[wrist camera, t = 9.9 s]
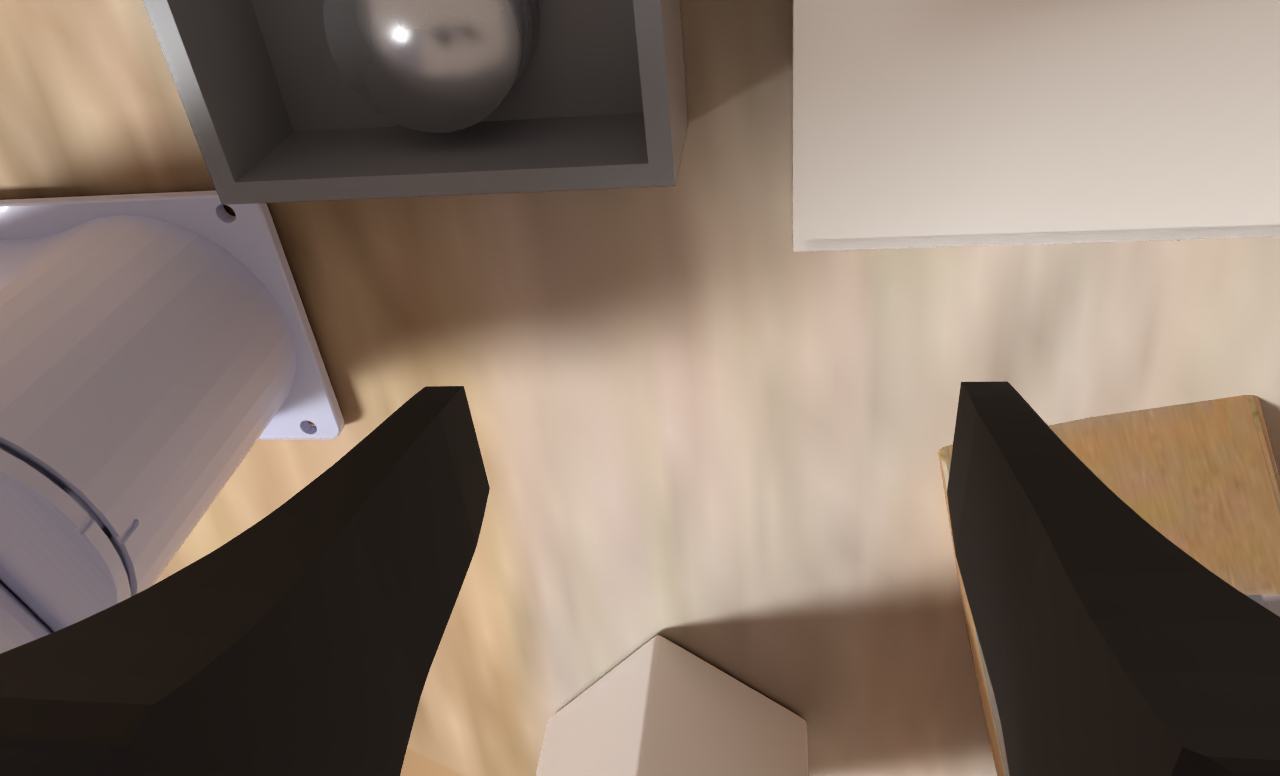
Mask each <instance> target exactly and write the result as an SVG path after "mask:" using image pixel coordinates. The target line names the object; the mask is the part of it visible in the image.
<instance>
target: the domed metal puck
mask: <svg viewBox="0 0 1280 776" xmlns="http://www.w3.org/2000/svg"><path fill="white" fill-rule="evenodd" d="M323 17H324V27H325V33H326V38H327V41H328V45H329V48H330V51H331V54H332V56H333V58H334V61H335V63H336V65H337V67H338V69H339V70H340V72H341V74H342V75H343V77H344V78H345V80H346V81H347V83H348V84H349V86H350V87H351V88H352V89H353V90H354V92H355V93H356V94H357V95H358V96H359V97H360V98H361V99H362V100H363V101H364V102H365V103H366V104H367V105H368V106H370V107H371V108H372V109H374V110H375V111H376V112H377V113H379V114H381V115H382V116H384V117H385V118H387V119H389V120H391V121H393V122H395V123H397V124H399V125H401V126H404V127H407V128H410V129H413V130H418V131H423V132H432V133H444V132H453V131H458V130H462V129H464V128H467V127H470V126H472V125H474V124H476V123H478V122H480V121H482V120H483V119H484V118H486V117H487V116H488V115H490V114H491V113H492V112H493V111H494V110H495V109H496V108H497V107H498V106H499V104H500V103H501V102H502V100H503V99H504V98H505V96H506V95H507V93H508V92H509V91H510V89H511V88H512V86H513V85H514V84H515V82H516V81H517V80H518V78H519V77H520V75H521V74H522V73H523V71H524V70H525V68H526V67H527V65H528V63H529V61H530V59H531V58H532V55H533V52H534V50H535V47H536V43H537V39H538V33H539V7H538V0H324V5H323Z"/></svg>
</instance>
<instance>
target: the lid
mask: <svg viewBox="0 0 1280 776" xmlns="http://www.w3.org/2000/svg"><path fill="white" fill-rule="evenodd" d="M792 227H793V252H797V251H830V250H863V249H896V248H930V247H963V246H996V245H1029V244H1062V243H1095V242H1128V241H1161V240H1194V239H1228V238H1261V237H1280V0H793V106H792Z"/></svg>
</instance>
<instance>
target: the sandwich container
mask: <svg viewBox="0 0 1280 776" xmlns="http://www.w3.org/2000/svg"><path fill="white" fill-rule="evenodd" d="M1049 427H1050V429H1051V430H1052V431H1053V432H1054V433H1055V434H1056V435H1057V436H1058V437H1059V438H1060V439H1061V440H1062V441H1063V443H1064V444H1065V445H1066V446H1067V447H1068V448H1069V449H1070V450H1071V451H1072V452H1073V453H1074V454H1075V455H1076V456H1077V457H1078V458H1079V459H1080V460H1081V461H1082V462H1083V463H1084V464H1085V465H1086V466H1087V467H1088V468H1089V469H1090V470H1091V471H1092V472H1093V473H1094V474H1095V475H1096V476H1097V477H1098V478H1099V479H1100V480H1101V481H1102V482H1103V483H1104V484H1105V485H1106V486H1107V487H1108V488H1109V489H1110V490H1111V491H1113V492H1114V493H1115V494H1116V495H1117V496H1118V497H1119V498H1120V499H1121V500H1122V501H1123V502H1125V503H1126V504H1127V505H1128V506H1129V507H1130V508H1131V509H1133V510H1134V511H1135V512H1136V513H1137V514H1138V515H1139V516H1141V517H1142V518H1143V519H1144V520H1145V521H1146V522H1147V523H1149V524H1150V525H1151V526H1152V527H1153V528H1155V529H1156V530H1157V531H1158V532H1160V533H1161V534H1162V535H1163V536H1165V537H1166V538H1167V539H1168V540H1170V541H1171V542H1172V543H1174V544H1175V545H1176V546H1178V547H1179V548H1180V549H1182V550H1183V551H1184V552H1186V553H1187V554H1188V555H1190V556H1191V557H1192V558H1194V559H1195V560H1196V561H1198V562H1199V563H1200V564H1202V565H1203V566H1204V567H1206V568H1207V569H1208V570H1210V571H1211V572H1212V573H1214V574H1215V575H1217V576H1218V577H1220V578H1221V579H1222V580H1224V581H1225V582H1227V583H1228V584H1230V585H1231V586H1233V587H1234V588H1236V589H1237V590H1238V591H1240V592H1242V593H1243V594H1245V595H1246V596H1248V597H1249V598H1251V599H1253V600H1254V601H1256V602H1257V603H1259V604H1260V605H1262V606H1263V607H1265V608H1267V609H1268V610H1270V611H1271V612H1273V613H1274V614H1276V615H1278V616H1279V617H1280V477H1279V473H1278V470H1277V466H1276V462H1275V458H1274V454H1273V450H1272V447H1271V443H1270V439H1269V435H1268V431H1267V427H1266V423H1265V420H1264V416H1263V412H1262V408H1261V404H1260V400H1259V398H1258V397H1257V396H1254V395H1243V396H1236V397H1229V398H1222V399H1215V400H1209V401H1202V402H1195V403H1188V404H1181V405H1174V406H1167V407H1160V408H1153V409H1146V410H1139V411H1132V412H1125V413H1118V414H1111V415H1104V416H1097V417H1090V418H1085V419H1080V420H1075V421H1070V422H1065V423H1060V424H1055V425H1050V426H1049ZM952 449H953V445H949V446H946V447H943V448H942V449H940V450H939V452H938V454H939V460H940V466H941V472H942V479H943V485H944V491H945V498H946V504H947V510H948V516H949V523H950V529H951V535H952V528H951V520H950V513H949V505H948V498H947V487H948V480H949V472H950V464H951V457H952ZM952 542H953V548H954V541H953V535H952ZM954 554H955V548H954ZM955 560H956V567H957V573H958V579H959V586H960V592H961V598H962V604H963V609H964V613H965V617H966V625H967V632H968V636H969V641H970V646H971V651H972V656H973V660H974V667H975V673H976V677H977V682H978V687H979V691H980V696H981V701H982V706H983V710H984V715H985V720H986V724H987V729H988V734H989V738H990V743H991V748H992V752H993V757H994V762H995V767H996V771H997V776H1010V775H1009V769H1008V763H1007V757H1006V751H1005V745H1004V739H1003V733H1002V727H1001V722H1000V718H999V713H998V709H997V705H996V700H995V696H994V692H993V688H992V685H991V681H990V678H989V674H988V671H987V667H986V663H985V660H984V656H983V653H982V649H981V646H980V642H979V638H978V635H977V631H976V628H975V624H974V621H973V617H972V614H971V610H970V606H969V603H968V599H967V596H966V592H965V588H964V585H963V581H962V577H961V574H960V570H959V566H958V562H957V559H956V555H955Z"/></svg>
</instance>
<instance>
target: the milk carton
mask: <svg viewBox="0 0 1280 776" xmlns="http://www.w3.org/2000/svg"><path fill="white" fill-rule="evenodd" d="M536 776H809V766H808V734H807V723H806V721H805V720H804V719H802V718H801V717H799V716H798V715H796V714H794V713H793V712H791V711H789V710H788V709H786V708H784V707H782V706H781V705H779V704H777V703H776V702H774V701H772V700H770V699H769V698H767V697H765V696H764V695H762V694H760V693H758V692H757V691H755V690H753V689H751V688H750V687H748V686H746V685H745V684H743V683H741V682H739V681H738V680H736V679H734V678H733V677H731V676H729V675H727V674H726V673H724V672H722V671H721V670H719V669H717V668H715V667H714V666H712V665H710V664H709V663H707V662H705V661H703V660H702V659H700V658H698V657H696V656H695V655H693V654H691V653H690V652H688V651H686V650H684V649H683V648H681V647H679V646H678V645H676V644H674V643H672V642H671V641H669V640H667V639H665V638H663V637H661V636H658V635H657V636H655V637H654V638H652V639H651V640H650V641H648V642H647V643H646V644H644V645H643V646H642V647H641V648H639V649H638V650H637V651H635V652H634V653H633V654H632V655H630V656H629V657H628V658H626V659H625V660H624V661H623V662H621V663H620V664H619V665H617V666H616V667H615V668H614V669H612V670H611V671H610V672H608V673H607V674H606V675H605V676H603V677H602V678H601V679H599V680H598V681H597V682H596V683H594V684H593V685H592V686H590V687H589V688H588V689H587V690H585V691H584V692H583V693H581V694H580V695H579V696H578V697H576V698H575V699H574V700H572V701H571V702H570V703H569V704H567V705H566V706H565V707H563V708H562V709H561V710H560V711H558V712H557V713H556V714H555V715H553V716H552V717H551V718H550V719H549V721H548V724H547V728H546V733H545V737H544V741H543V746H542V750H541V755H540V759H539V763H538V768H537V772H536Z"/></svg>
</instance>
